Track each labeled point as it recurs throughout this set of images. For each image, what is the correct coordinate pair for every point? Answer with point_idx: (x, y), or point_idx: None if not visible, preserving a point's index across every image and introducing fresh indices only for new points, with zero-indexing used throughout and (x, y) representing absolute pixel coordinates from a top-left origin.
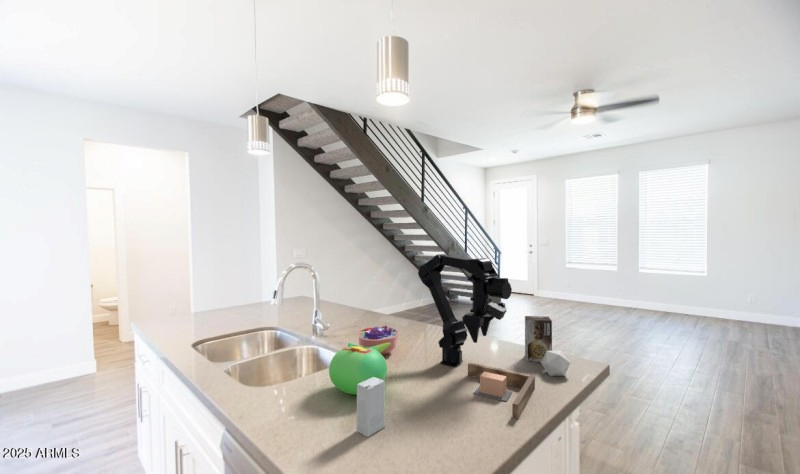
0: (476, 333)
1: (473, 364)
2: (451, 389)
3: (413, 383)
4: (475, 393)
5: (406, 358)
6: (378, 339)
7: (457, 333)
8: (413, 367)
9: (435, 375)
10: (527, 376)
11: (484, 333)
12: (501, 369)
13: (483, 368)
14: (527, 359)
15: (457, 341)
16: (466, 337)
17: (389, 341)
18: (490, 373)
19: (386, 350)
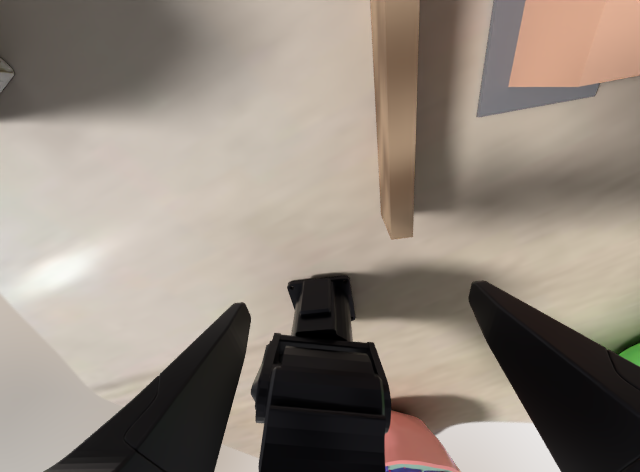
0: (624, 367)
1: (404, 215)
2: (562, 193)
3: (546, 298)
4: (597, 85)
5: None
6: (444, 469)
7: (373, 415)
8: (425, 345)
9: (454, 285)
10: None
11: (240, 326)
12: (393, 42)
13: (412, 157)
14: (3, 72)
15: (362, 363)
16: (285, 361)
17: (418, 451)
18: (609, 23)
19: (405, 420)
